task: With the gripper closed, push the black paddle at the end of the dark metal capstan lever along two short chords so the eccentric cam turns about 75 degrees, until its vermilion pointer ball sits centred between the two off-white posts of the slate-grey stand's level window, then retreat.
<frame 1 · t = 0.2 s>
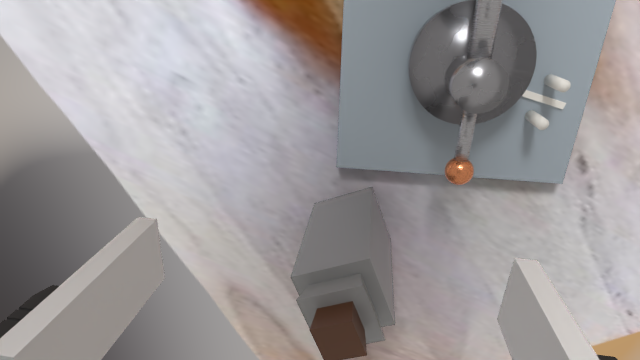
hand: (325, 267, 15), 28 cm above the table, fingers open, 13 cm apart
perfume bottle: (352, 220, 46), on the table
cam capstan: (476, 62, 32), point 6 cm above the table, hinge at 0.0°
stand: (459, 70, 38), on the table
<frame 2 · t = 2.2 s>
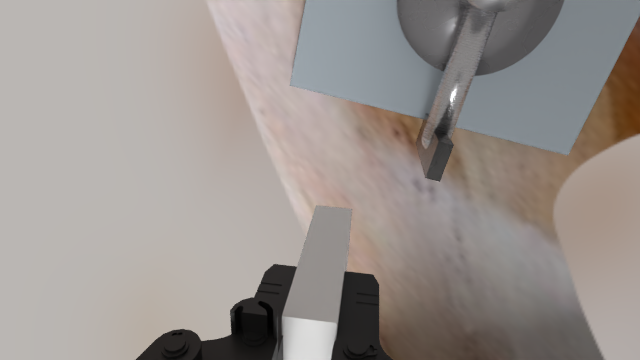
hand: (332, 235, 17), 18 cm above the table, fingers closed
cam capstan: (482, 1, 24), point 6 cm above the table, hinge at 0.0°
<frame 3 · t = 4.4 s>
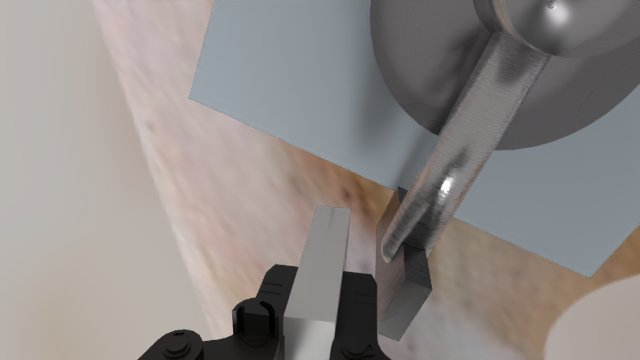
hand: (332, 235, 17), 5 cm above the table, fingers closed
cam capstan: (524, 27, 12), point 6 cm above the table, hinge at 2.0°, touching gripper
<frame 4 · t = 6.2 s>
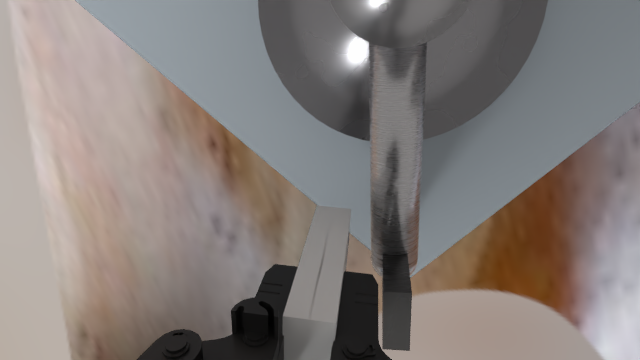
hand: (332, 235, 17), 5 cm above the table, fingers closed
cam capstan: (397, 24, 13), point 6 cm above the table, hinge at 44.3°, touching gripper
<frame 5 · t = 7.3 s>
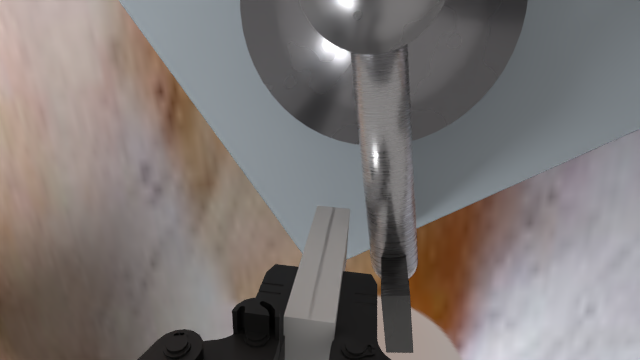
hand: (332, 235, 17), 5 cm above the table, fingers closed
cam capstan: (377, 28, 13), point 6 cm above the table, hinge at 65.1°, touching gripper
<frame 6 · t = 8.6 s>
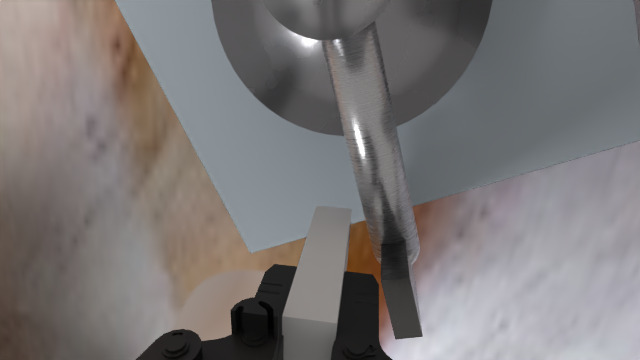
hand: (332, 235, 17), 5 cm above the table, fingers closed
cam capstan: (346, 16, 13), point 6 cm above the table, hinge at 82.5°, touching gripper
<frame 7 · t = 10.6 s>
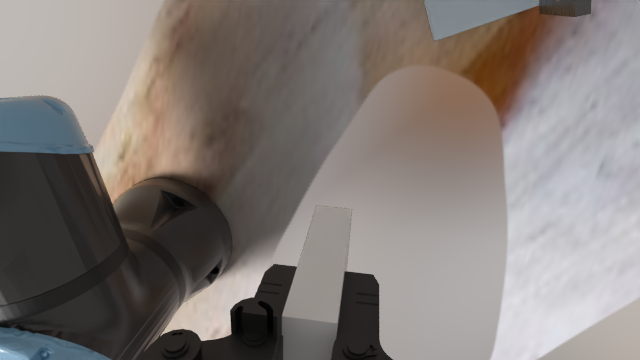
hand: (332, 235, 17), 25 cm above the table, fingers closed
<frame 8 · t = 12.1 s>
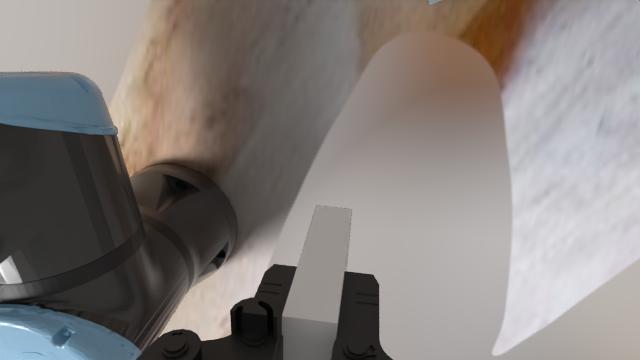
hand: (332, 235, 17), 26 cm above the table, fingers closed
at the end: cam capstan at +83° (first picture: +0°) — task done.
